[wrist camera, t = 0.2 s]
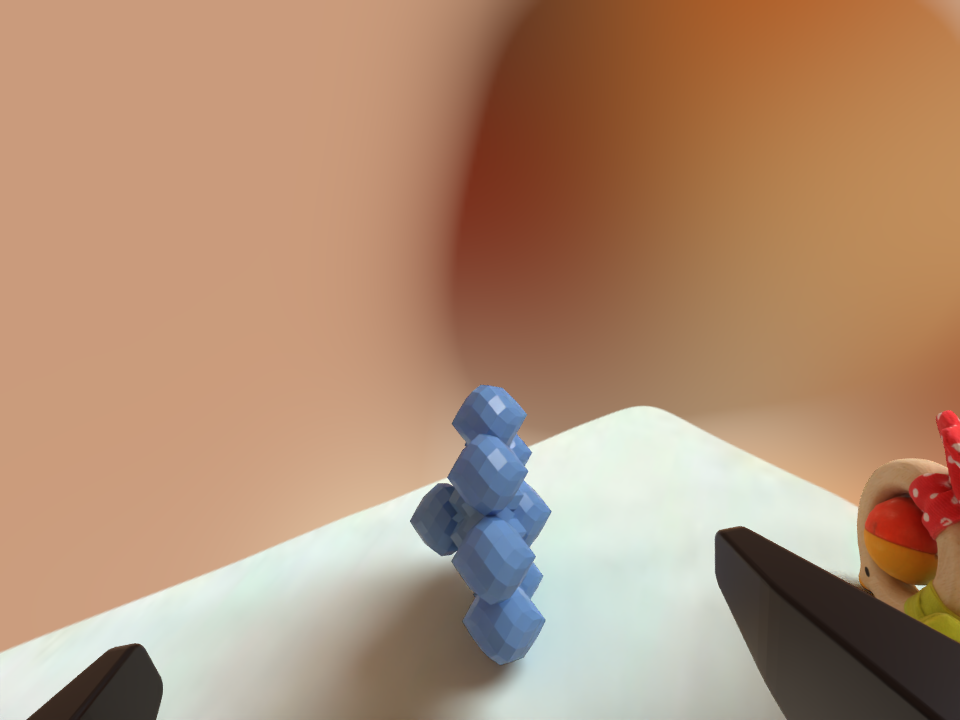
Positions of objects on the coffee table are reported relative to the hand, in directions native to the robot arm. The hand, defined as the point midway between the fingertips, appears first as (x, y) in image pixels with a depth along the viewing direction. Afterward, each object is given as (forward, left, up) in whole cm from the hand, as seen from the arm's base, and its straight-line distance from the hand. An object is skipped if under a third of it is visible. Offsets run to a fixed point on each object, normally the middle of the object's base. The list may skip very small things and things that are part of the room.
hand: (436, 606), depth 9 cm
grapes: (+15, 0, -17) cm, 22 cm away
